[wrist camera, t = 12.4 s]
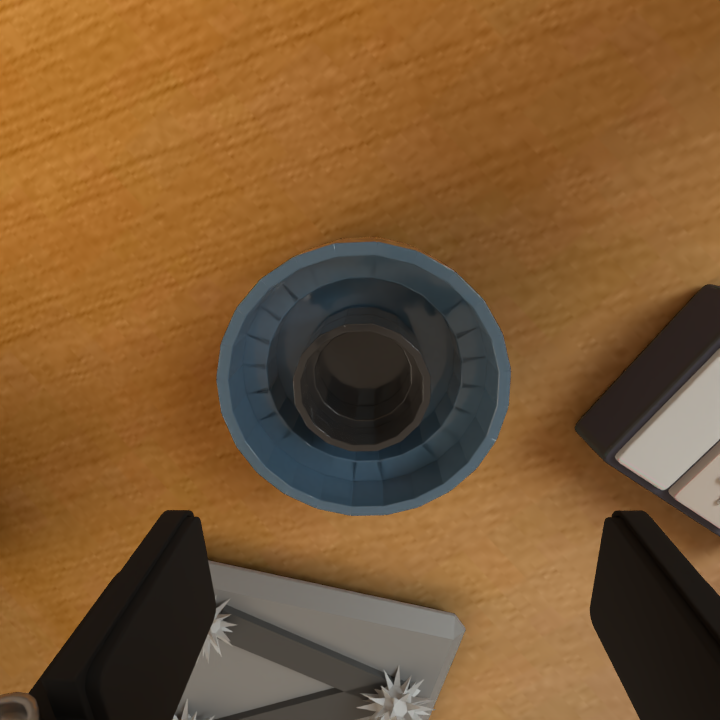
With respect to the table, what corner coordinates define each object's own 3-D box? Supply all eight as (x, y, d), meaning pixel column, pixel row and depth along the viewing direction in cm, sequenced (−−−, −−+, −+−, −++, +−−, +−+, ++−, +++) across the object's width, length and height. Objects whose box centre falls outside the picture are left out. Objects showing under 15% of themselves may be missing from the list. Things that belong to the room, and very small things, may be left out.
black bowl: (360, 280, 25) (357, 294, 20) (445, 360, 26) (459, 388, 22) (283, 364, 26) (265, 393, 22) (367, 435, 28) (365, 475, 23)
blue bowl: (357, 179, 24) (352, 169, 18) (533, 353, 26) (573, 387, 21) (201, 363, 27) (160, 398, 22) (370, 500, 30) (369, 560, 24)
